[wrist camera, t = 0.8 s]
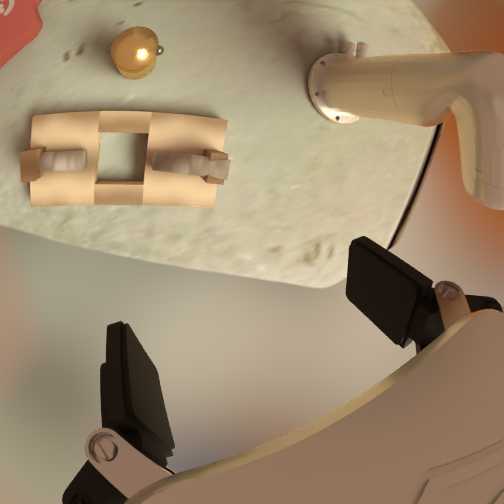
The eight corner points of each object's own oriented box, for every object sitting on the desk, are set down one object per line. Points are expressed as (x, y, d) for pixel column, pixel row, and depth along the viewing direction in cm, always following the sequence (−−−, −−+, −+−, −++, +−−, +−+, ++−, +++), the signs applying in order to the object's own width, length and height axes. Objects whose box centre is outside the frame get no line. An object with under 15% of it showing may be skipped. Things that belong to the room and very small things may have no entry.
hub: (117, 45, 23) (111, 26, 17) (164, 47, 26) (169, 28, 19) (109, 79, 25) (99, 67, 19) (156, 80, 28) (159, 69, 21)
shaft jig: (39, 115, 23) (15, 116, 17) (224, 120, 34) (243, 120, 27) (37, 201, 28) (15, 221, 22) (211, 202, 39) (226, 221, 32)
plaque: (56, 10, 14) (-28, 85, 13) (63, 19, 17) (-16, 86, 16) (35, -49, 4) (-42, 16, 3) (41, -40, 7) (-32, 20, 6)
